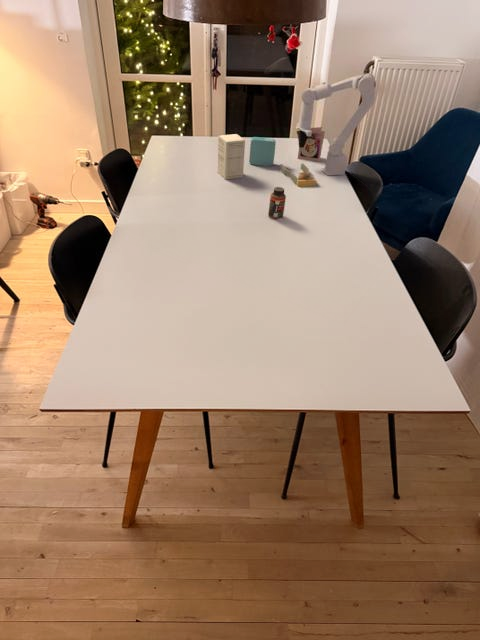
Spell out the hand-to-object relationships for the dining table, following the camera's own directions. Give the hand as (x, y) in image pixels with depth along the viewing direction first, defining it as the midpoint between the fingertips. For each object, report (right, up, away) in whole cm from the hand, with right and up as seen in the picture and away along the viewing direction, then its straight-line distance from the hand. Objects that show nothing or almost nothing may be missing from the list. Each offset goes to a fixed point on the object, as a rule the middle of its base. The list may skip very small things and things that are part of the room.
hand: (301, 147), depth 211 cm
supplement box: (-34, -16, -8) cm, 39 cm away
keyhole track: (-2, -16, -5) cm, 17 cm away
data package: (-19, -6, +6) cm, 21 cm away
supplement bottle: (-16, -43, -39) cm, 60 cm away
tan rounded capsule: (-1, -21, -10) cm, 23 cm away
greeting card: (+6, +1, +17) cm, 18 cm away
